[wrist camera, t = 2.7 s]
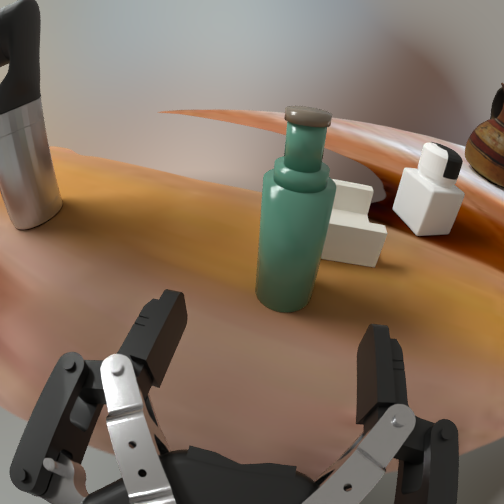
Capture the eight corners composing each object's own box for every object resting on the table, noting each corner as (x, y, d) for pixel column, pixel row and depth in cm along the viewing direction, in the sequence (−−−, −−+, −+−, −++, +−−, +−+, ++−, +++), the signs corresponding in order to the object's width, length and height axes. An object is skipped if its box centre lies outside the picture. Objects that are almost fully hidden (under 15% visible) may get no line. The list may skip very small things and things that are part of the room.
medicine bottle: (423, 209, 42) (444, 141, 34) (449, 235, 36) (476, 162, 29) (391, 209, 41) (411, 134, 33) (416, 237, 35) (444, 155, 28)
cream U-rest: (275, 251, 32) (279, 215, 29) (286, 202, 40) (289, 172, 37) (374, 267, 30) (387, 233, 27) (364, 215, 39) (371, 186, 36)
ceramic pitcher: (476, 181, 58) (502, 76, 39) (452, 155, 73) (470, 69, 54) (523, 200, 55) (551, 107, 36) (496, 172, 70) (516, 93, 51)
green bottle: (250, 306, 26) (261, 113, 15) (260, 267, 30) (273, 100, 19) (309, 316, 25) (353, 126, 15) (312, 276, 29) (344, 110, 19)
